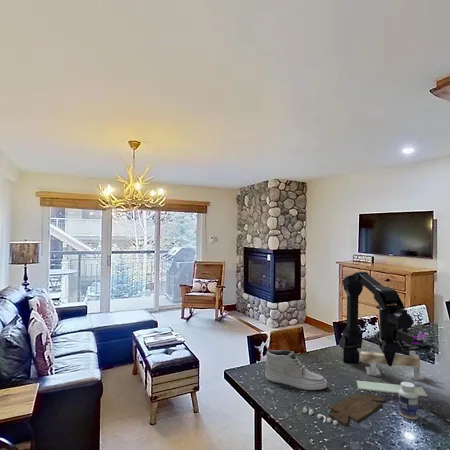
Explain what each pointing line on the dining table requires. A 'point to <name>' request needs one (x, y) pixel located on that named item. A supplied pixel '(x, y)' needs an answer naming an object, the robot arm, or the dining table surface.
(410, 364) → the rail
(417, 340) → the figurine
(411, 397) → the pill bottle
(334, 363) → the dining table surface
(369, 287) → the robot arm
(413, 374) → the hook standards
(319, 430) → the dining table surface
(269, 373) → the chukka sneaker
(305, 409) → the figurines set
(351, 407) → the brown notched wooden board
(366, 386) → the mat
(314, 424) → the dining table surface
